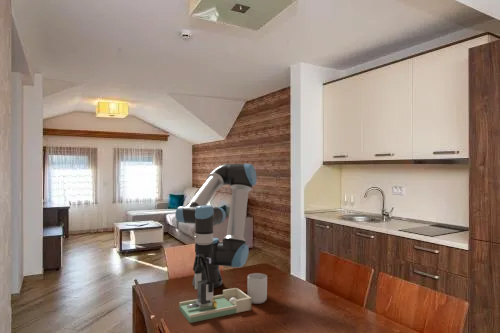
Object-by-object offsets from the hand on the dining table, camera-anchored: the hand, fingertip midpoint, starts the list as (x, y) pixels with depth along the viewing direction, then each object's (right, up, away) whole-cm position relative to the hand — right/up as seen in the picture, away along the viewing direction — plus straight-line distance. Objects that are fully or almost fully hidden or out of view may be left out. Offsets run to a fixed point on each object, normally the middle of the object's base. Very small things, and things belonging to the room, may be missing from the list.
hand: (203, 294), depth 140 cm
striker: (-1, -5, -1) cm, 5 cm away
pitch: (+5, -8, +2) cm, 9 cm away
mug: (+23, -8, +14) cm, 28 cm away
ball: (+12, -6, +6) cm, 15 cm away
